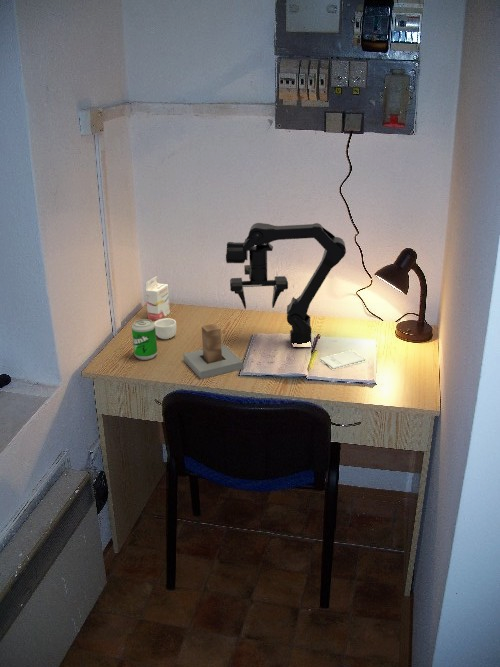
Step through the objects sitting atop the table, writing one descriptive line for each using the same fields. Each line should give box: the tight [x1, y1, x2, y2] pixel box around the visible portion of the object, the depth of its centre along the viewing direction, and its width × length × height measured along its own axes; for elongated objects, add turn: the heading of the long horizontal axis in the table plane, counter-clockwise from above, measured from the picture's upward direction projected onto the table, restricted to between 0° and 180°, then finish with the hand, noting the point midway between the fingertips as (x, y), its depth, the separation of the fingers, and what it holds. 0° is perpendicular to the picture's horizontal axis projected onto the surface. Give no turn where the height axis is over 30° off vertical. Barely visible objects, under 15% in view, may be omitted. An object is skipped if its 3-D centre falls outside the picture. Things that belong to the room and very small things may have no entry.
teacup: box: [153, 317, 177, 340], centre depth 230 cm, size 10×8×5 cm
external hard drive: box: [318, 349, 366, 370], centre depth 210 cm, size 2×8×12 cm
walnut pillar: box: [201, 323, 222, 364], centre depth 207 cm, size 4×4×13 cm
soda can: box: [131, 318, 158, 361], centre depth 214 cm, size 8×8×12 cm
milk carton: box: [145, 275, 171, 321], centre depth 245 cm, size 9×5×15 cm, turn 157°
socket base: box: [182, 344, 244, 380], centre depth 209 cm, size 14×14×2 cm
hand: (259, 308), depth 218 cm, fingers open, 9 cm apart
